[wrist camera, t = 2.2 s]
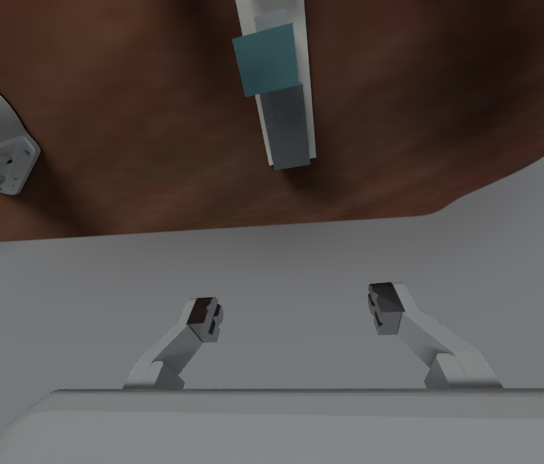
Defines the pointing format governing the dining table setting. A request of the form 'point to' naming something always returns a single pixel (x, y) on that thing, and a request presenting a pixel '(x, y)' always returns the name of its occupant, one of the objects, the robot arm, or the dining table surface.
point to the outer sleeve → (286, 126)
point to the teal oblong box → (267, 55)
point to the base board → (256, 3)
